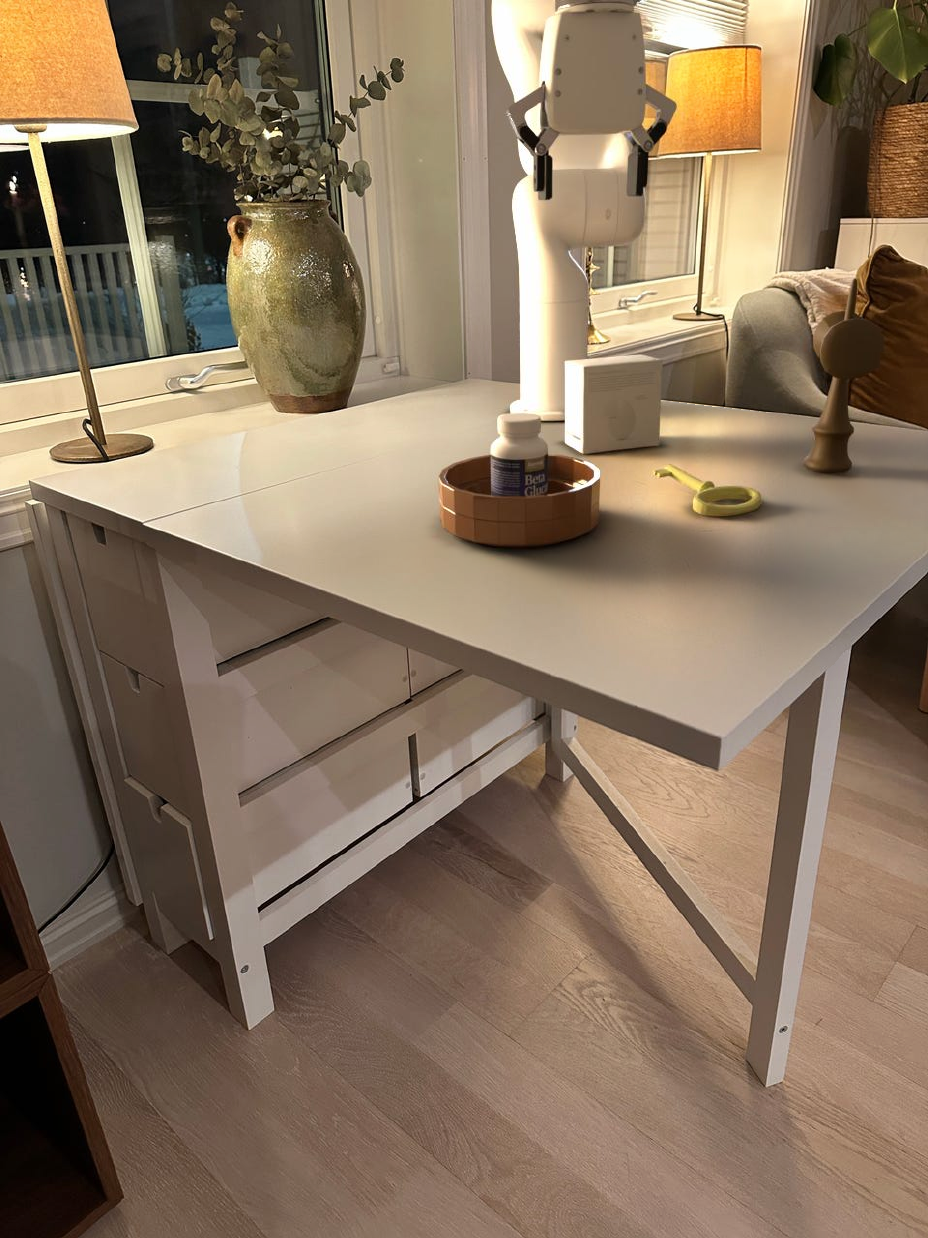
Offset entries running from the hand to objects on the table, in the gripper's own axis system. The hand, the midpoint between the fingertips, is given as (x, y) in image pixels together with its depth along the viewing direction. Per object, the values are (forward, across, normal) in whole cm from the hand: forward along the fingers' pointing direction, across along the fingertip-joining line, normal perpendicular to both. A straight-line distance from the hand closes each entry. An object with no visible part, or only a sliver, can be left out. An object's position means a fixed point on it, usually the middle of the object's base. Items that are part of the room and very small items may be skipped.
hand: (590, 197), depth 92 cm
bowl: (+28, +12, +18) cm, 36 cm away
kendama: (+28, -25, +10) cm, 39 cm away
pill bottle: (+28, +12, +18) cm, 35 cm away
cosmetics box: (+28, -6, -8) cm, 30 cm away
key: (+28, -8, +16) cm, 34 cm away
